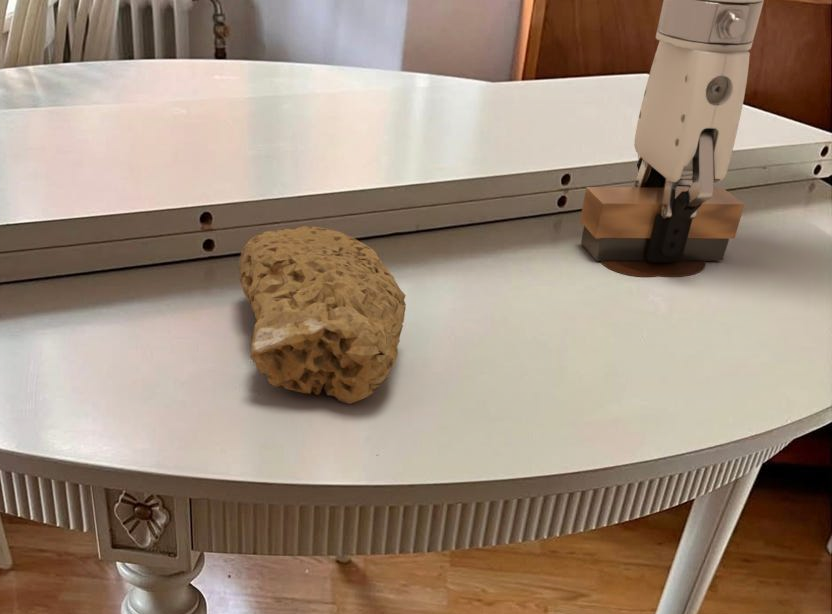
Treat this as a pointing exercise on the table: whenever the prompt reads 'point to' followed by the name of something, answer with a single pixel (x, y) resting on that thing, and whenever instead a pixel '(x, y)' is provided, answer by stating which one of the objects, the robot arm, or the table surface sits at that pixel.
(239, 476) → the table surface
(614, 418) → the table surface
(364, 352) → the sponge
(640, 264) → the coffee spill
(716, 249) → the brush
